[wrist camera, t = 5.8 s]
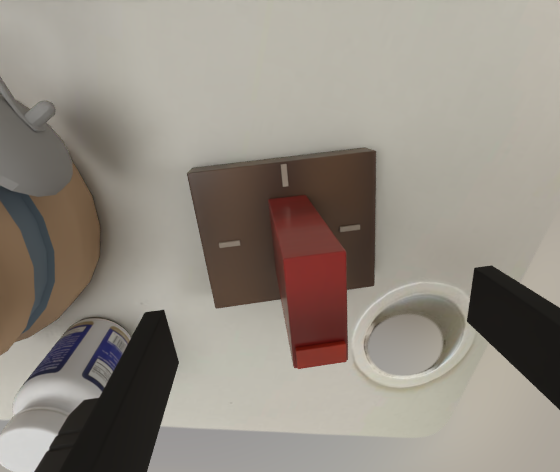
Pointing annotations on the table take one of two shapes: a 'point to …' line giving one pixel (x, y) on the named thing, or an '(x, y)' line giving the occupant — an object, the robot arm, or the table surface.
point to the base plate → (256, 218)
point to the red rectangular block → (310, 282)
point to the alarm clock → (40, 222)
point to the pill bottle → (60, 389)
